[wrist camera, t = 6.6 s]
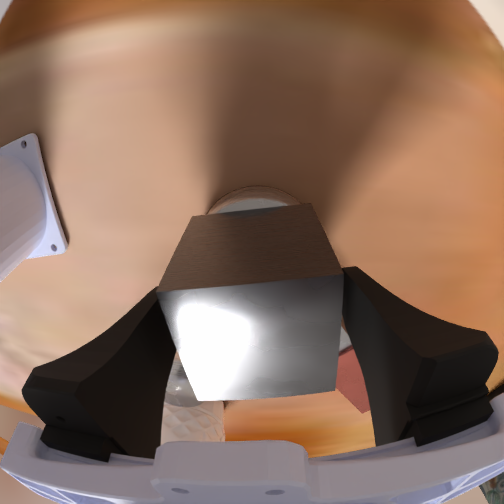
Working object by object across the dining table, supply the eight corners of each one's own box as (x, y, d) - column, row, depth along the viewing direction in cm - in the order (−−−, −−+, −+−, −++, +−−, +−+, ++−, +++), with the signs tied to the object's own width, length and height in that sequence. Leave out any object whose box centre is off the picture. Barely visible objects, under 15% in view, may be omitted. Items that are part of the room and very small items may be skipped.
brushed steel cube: (213, 309, 17) (197, 400, 11) (192, 216, 14) (155, 291, 9) (314, 300, 16) (335, 390, 11) (310, 203, 14) (343, 273, 8)
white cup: (239, 386, 23) (233, 500, 15) (223, 430, 27) (216, 520, 18) (143, 367, 23) (109, 475, 14) (145, 414, 26) (123, 501, 17)
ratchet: (177, 231, 17) (149, 286, 12) (270, 161, 15) (277, 193, 10) (340, 398, 24) (351, 450, 19) (405, 364, 23) (426, 415, 18)
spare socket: (172, 365, 23) (161, 406, 19) (157, 332, 21) (143, 374, 17) (216, 364, 22) (211, 407, 19) (206, 329, 21) (198, 374, 17)
